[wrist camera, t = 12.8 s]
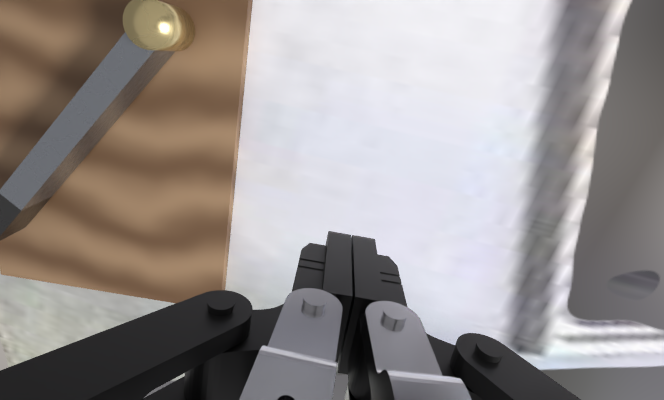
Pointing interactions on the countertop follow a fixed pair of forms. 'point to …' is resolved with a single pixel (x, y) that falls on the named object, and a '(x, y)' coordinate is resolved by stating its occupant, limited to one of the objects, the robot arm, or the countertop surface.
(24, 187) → the lever
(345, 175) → the countertop surface
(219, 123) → the board
